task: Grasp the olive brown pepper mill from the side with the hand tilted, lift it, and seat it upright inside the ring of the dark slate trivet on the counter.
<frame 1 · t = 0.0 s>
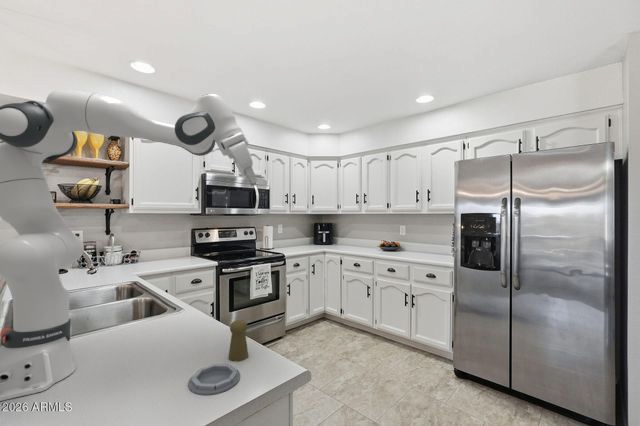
hand: (254, 183, 94), 54 cm above the counter, tool tilted 30°, fingers open, 8 cm apart
slate trivet: (214, 380, 79), on the counter
olive brown pepper mill: (238, 357, 92), on the counter
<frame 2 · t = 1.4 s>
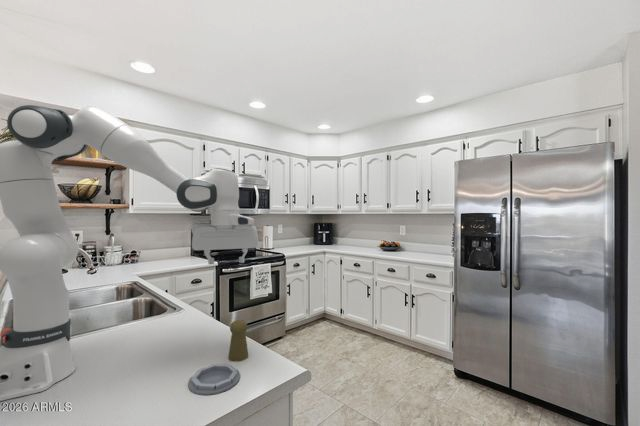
hand: (226, 263, 94), 29 cm above the counter, tool pointing down, fingers open, 8 cm apart
nothing on the counter moved.
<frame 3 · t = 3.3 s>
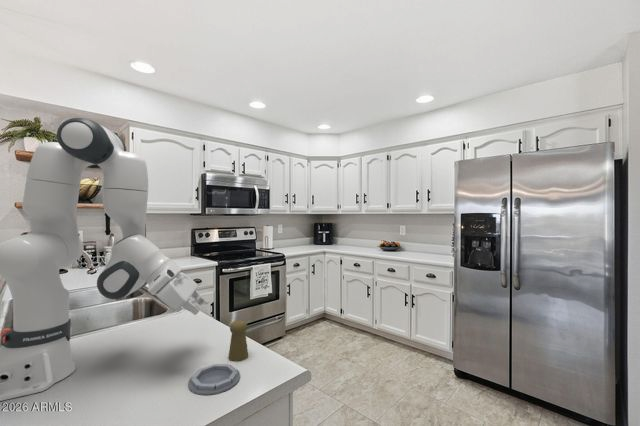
hand: (200, 307, 90), 16 cm above the counter, tool tilted 45°, fingers open, 8 cm apart
nothing on the counter moved.
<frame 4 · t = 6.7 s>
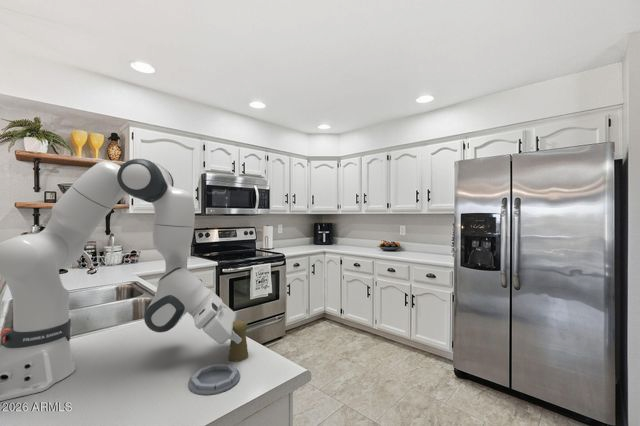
hand: (240, 337, 93), 6 cm above the counter, tool tilted 45°, fingers closed on olive brown pepper mill, 4 cm apart
olive brown pepper mill: (238, 357, 92), on the counter, touching gripper
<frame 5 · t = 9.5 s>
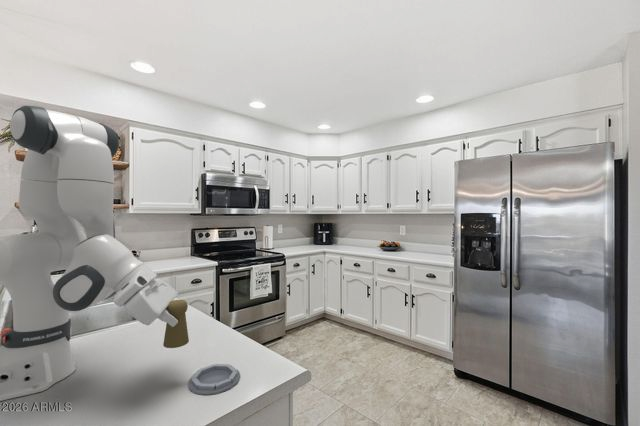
hand: (178, 320, 78), 17 cm above the counter, tool tilted 45°, fingers closed on olive brown pepper mill, 4 cm apart
olive brown pepper mill: (176, 343, 77), point 10 cm above the counter, touching gripper
when the fingers open (8 cm above the counter, at t = 12.5 s): olive brown pepper mill drops 1 cm, resting on slate trivet.
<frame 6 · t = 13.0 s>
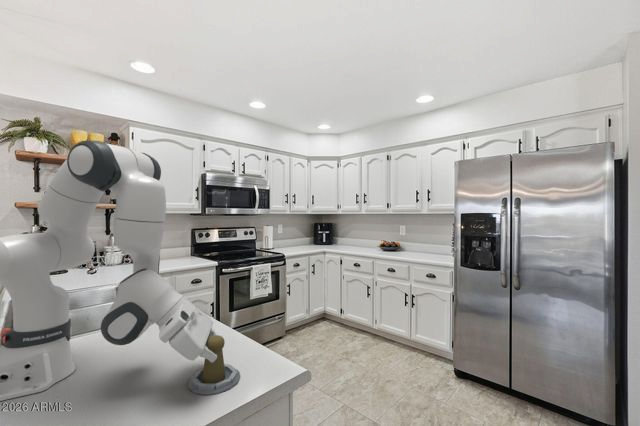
hand: (217, 350, 79), 8 cm above the counter, tool tilted 45°, fingers open, 8 cm apart
olive brown pepper mill: (213, 379, 79), resting on slate trivet
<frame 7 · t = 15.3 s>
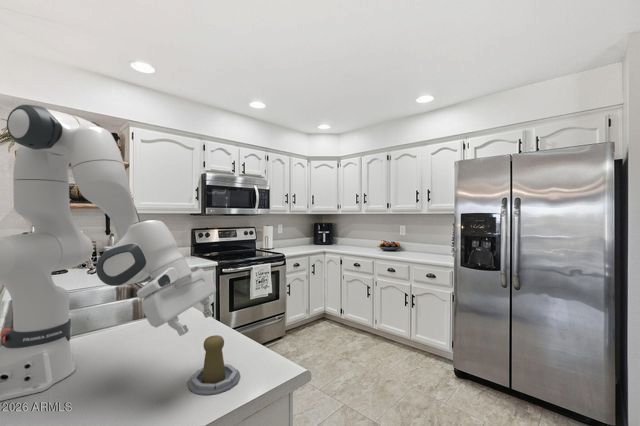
hand: (197, 324, 76), 16 cm above the counter, tool tilted 30°, fingers open, 8 cm apart
nothing on the counter moved.
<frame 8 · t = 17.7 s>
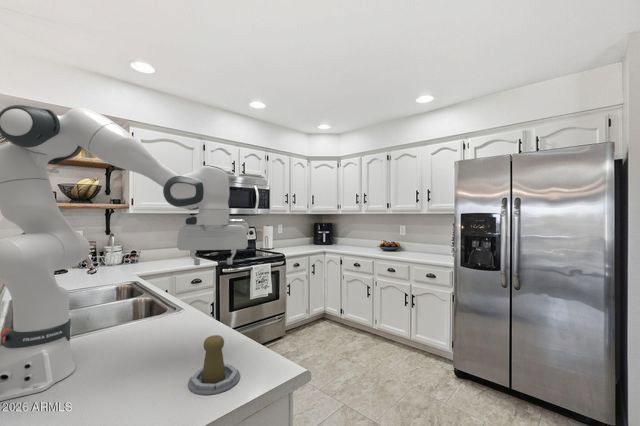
hand: (213, 264, 90), 29 cm above the counter, tool pointing down, fingers open, 8 cm apart
nothing on the counter moved.
at the end: olive brown pepper mill 0.3 cm off-centre on the slate trivet, point 0.4 cm above the slate trivet's base; olive brown pepper mill tilted 0°; the gripper is holding nothing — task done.
